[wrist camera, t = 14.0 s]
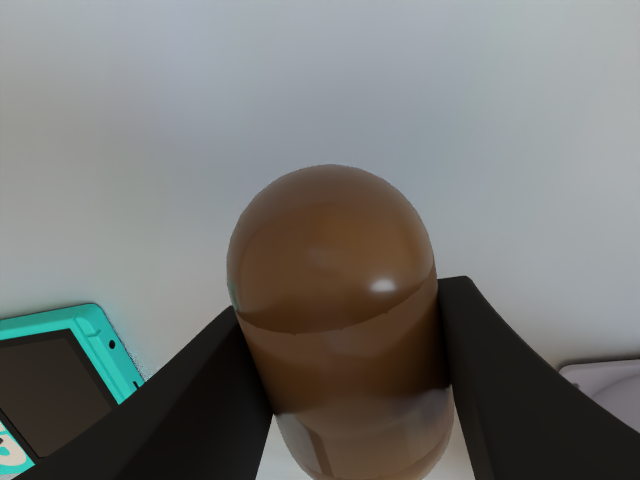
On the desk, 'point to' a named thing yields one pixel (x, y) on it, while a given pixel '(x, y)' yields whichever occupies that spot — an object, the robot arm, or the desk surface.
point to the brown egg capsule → (344, 323)
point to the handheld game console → (57, 381)
